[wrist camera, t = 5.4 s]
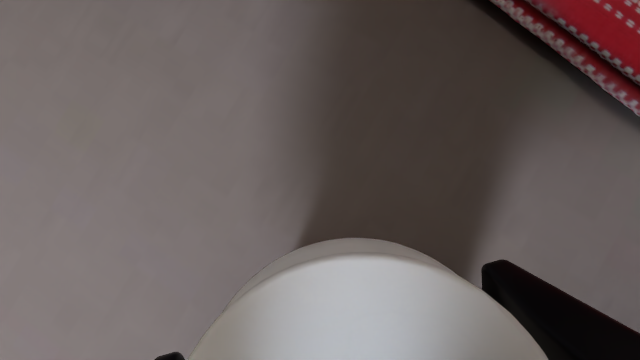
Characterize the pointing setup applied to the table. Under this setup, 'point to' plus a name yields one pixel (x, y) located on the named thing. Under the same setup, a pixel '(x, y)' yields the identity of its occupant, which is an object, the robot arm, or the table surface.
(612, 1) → the dish towel
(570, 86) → the table surface
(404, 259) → the pill bottle
